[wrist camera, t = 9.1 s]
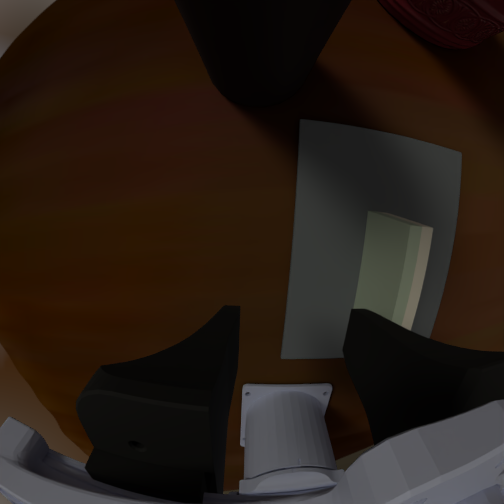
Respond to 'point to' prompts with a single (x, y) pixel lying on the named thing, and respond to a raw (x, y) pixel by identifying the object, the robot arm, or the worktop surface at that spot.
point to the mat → (360, 225)
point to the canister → (450, 20)
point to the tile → (393, 267)
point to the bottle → (260, 43)
